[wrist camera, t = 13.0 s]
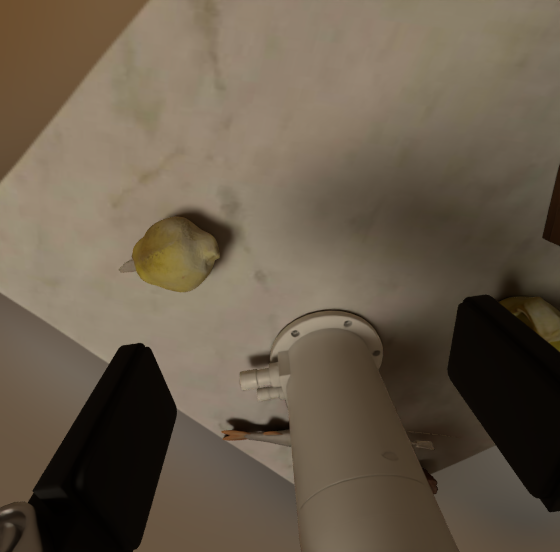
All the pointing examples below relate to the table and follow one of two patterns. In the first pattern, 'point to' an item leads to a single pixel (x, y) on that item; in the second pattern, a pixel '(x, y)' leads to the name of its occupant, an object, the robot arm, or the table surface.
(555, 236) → the box
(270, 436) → the fish
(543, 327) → the mug
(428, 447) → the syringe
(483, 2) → the table surface
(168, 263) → the fruit
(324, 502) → the robot arm
